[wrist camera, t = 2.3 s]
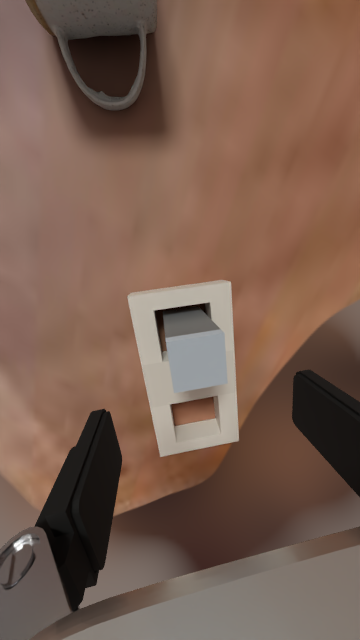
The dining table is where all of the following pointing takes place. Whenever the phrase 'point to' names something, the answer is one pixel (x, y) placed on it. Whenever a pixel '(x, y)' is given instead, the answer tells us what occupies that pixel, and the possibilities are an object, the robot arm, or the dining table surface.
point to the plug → (194, 349)
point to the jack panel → (160, 375)
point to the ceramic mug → (98, 33)
